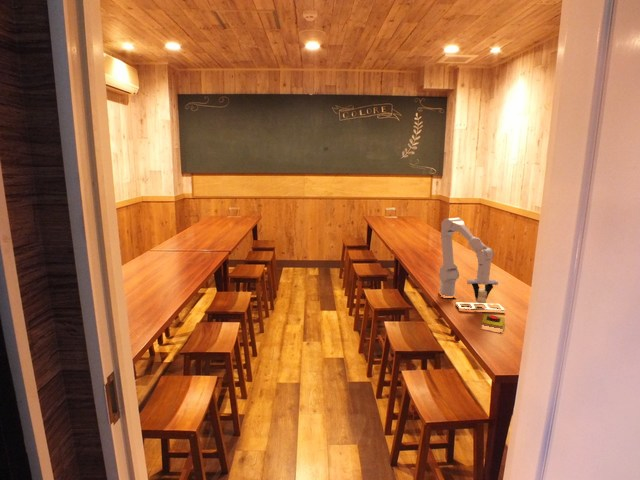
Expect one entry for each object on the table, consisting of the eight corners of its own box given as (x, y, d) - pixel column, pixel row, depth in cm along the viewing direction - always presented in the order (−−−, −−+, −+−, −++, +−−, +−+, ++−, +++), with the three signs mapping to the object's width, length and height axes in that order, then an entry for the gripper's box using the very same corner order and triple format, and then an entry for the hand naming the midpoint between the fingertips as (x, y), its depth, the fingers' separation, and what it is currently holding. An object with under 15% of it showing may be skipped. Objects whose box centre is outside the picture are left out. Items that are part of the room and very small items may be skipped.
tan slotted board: (455, 305, 206) (455, 302, 206) (498, 307, 204) (499, 303, 204) (459, 311, 198) (460, 308, 198) (504, 313, 197) (505, 309, 196)
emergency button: (505, 314, 186) (503, 325, 173) (504, 322, 187) (502, 335, 174) (484, 310, 191) (480, 321, 178) (483, 318, 191) (479, 330, 179)
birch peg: (475, 300, 202) (476, 288, 201) (483, 300, 202) (484, 289, 201) (477, 302, 199) (478, 291, 197) (485, 303, 198) (487, 291, 197)
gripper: (471, 274, 194) (468, 300, 197) (501, 275, 193) (498, 301, 195) (466, 270, 201) (464, 295, 203) (496, 270, 199) (493, 296, 202)
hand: (480, 297), depth 200 cm, fingers closed on birch peg, 4 cm apart
